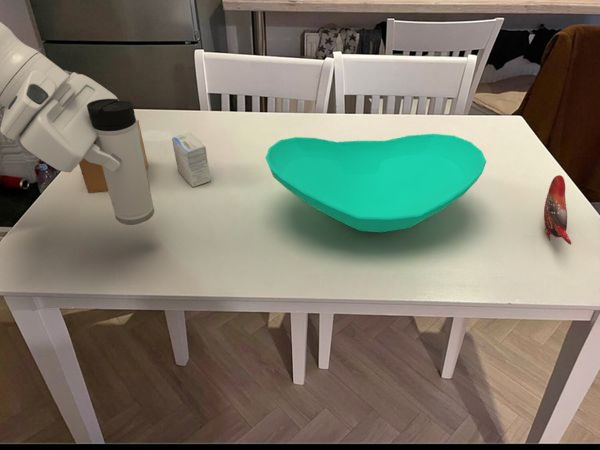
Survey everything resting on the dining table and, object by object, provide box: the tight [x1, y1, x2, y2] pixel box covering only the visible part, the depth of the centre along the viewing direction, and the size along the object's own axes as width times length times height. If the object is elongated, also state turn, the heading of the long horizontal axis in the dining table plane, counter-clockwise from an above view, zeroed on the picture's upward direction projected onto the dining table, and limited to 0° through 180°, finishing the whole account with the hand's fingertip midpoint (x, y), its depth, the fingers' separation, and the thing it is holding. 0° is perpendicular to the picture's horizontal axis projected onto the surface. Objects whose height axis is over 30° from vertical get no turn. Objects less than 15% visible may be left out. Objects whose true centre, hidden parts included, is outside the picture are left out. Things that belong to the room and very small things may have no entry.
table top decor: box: [265, 133, 487, 233], centre depth 87 cm, size 40×28×13 cm
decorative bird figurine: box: [543, 174, 572, 245], centre depth 82 cm, size 3×18×10 cm, turn 166°
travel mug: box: [87, 98, 155, 226], centre depth 72 cm, size 6×7×20 cm
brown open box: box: [78, 119, 149, 194], centre depth 98 cm, size 12×10×11 cm
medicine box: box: [171, 132, 211, 188], centre depth 99 cm, size 8×4×9 cm, turn 34°
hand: (125, 154), depth 71 cm, fingers closed on travel mug, 6 cm apart
